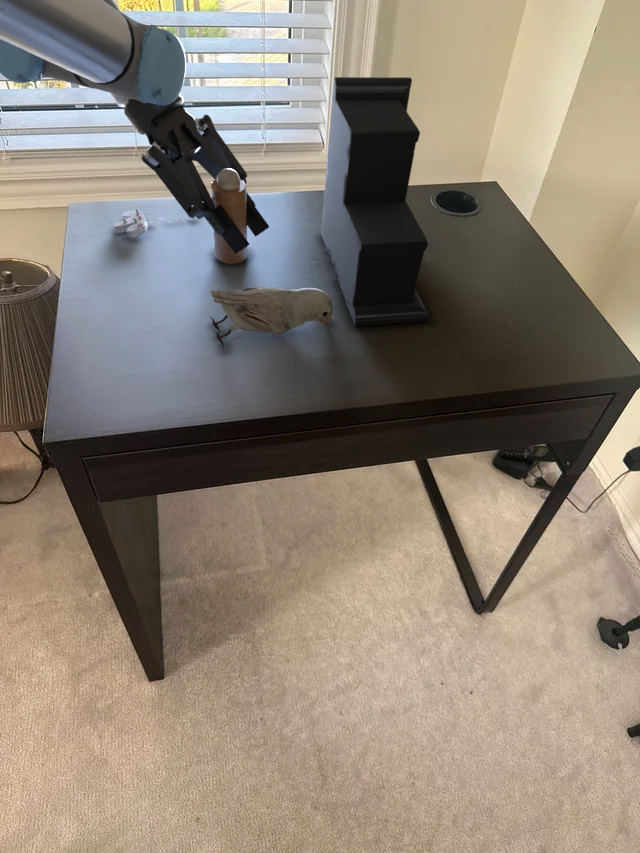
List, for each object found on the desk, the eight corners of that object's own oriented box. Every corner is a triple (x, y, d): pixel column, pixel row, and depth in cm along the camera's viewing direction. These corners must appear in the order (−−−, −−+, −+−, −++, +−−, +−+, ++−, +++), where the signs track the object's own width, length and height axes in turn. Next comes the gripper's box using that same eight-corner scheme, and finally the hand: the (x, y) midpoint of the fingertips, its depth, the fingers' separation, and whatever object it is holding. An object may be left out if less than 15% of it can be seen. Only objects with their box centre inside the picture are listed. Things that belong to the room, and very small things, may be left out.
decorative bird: (336, 336, 85) (341, 289, 79) (216, 354, 81) (212, 305, 75) (324, 312, 88) (328, 265, 83) (208, 327, 84) (204, 279, 79)
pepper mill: (208, 257, 95) (202, 171, 85) (226, 242, 98) (222, 158, 88) (236, 267, 94) (233, 181, 84) (253, 252, 97) (252, 167, 87)
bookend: (429, 322, 88) (470, 154, 71) (353, 328, 86) (376, 156, 69) (385, 232, 103) (410, 75, 86) (319, 235, 102) (331, 75, 84)
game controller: (108, 226, 99) (105, 210, 97) (174, 207, 105) (173, 192, 103) (126, 243, 96) (123, 227, 94) (192, 222, 102) (191, 207, 100)
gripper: (112, 97, 76) (234, 259, 84) (197, 55, 87) (299, 202, 95) (85, 130, 82) (203, 280, 89) (169, 88, 93) (267, 224, 101)
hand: (252, 240), depth 92 cm, fingers closed on pepper mill, 5 cm apart
